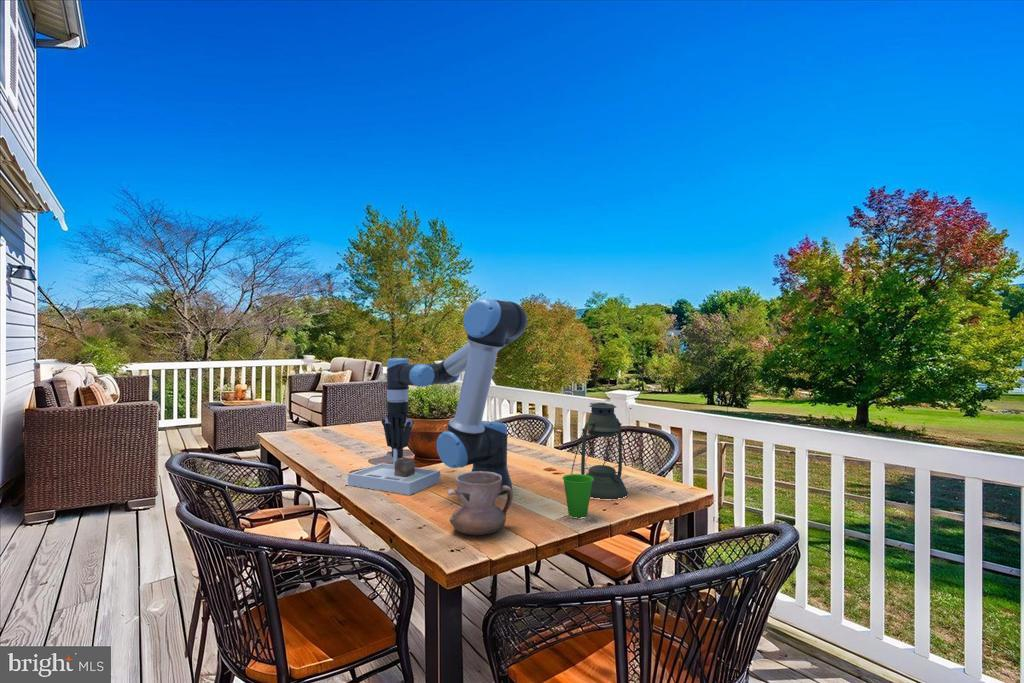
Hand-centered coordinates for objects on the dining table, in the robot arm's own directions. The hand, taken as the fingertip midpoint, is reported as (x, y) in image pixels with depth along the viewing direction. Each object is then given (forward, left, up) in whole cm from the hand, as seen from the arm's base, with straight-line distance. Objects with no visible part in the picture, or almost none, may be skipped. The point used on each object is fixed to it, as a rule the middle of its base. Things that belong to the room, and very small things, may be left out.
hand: (397, 466), depth 180 cm
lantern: (-70, -20, -5) cm, 73 cm away
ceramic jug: (-50, +28, -5) cm, 57 cm away
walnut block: (-3, 0, -3) cm, 4 cm away
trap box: (-2, +3, -5) cm, 6 cm away
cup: (-70, +6, -5) cm, 70 cm away
